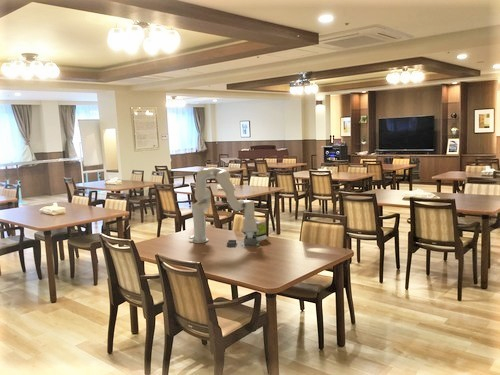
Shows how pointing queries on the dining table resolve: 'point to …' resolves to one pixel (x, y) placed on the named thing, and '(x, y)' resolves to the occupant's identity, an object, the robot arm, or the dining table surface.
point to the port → (250, 242)
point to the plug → (249, 234)
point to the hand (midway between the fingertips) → (250, 240)
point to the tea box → (260, 230)
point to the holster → (231, 243)
